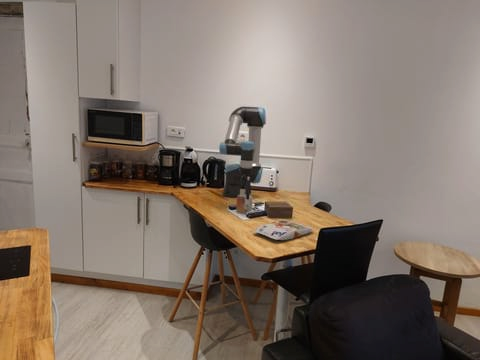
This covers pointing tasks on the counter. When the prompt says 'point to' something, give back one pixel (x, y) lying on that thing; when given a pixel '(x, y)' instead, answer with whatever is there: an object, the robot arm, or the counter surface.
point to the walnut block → (278, 209)
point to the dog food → (283, 230)
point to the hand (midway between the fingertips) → (244, 201)
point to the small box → (243, 204)
